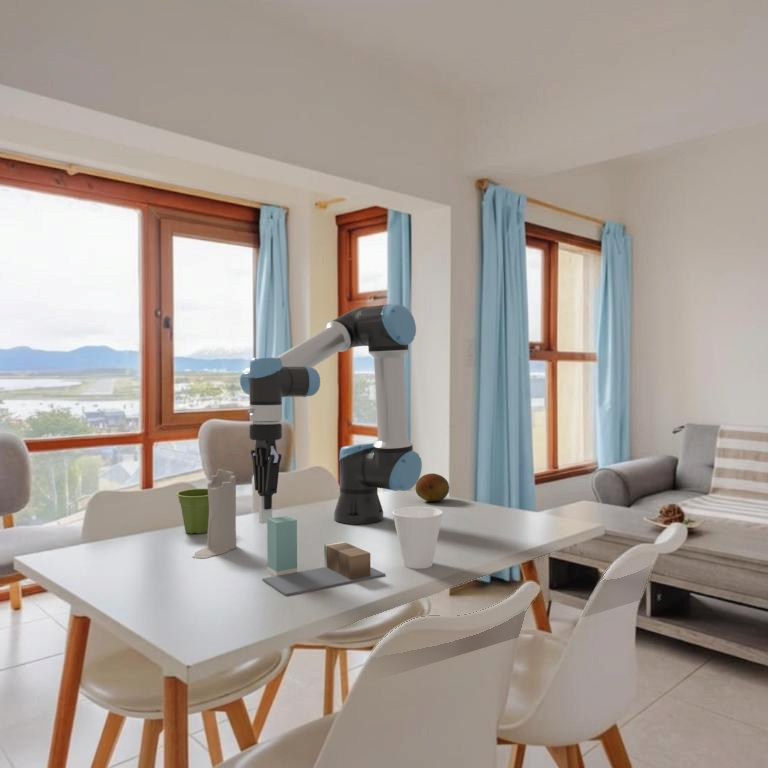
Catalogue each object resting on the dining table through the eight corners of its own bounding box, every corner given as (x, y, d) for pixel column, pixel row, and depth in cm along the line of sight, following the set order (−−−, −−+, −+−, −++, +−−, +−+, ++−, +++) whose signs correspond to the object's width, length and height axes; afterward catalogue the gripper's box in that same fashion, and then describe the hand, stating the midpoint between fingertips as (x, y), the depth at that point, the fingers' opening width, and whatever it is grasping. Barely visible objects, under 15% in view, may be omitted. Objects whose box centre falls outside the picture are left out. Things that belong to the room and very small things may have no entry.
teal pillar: (267, 571, 148) (267, 518, 148) (287, 567, 151) (287, 516, 151) (276, 577, 144) (276, 522, 144) (297, 573, 147) (296, 520, 147)
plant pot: (167, 534, 183) (167, 494, 183) (194, 525, 194) (194, 487, 194) (202, 538, 179) (202, 497, 179) (228, 528, 190) (227, 489, 190)
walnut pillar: (324, 544, 151) (350, 556, 141) (343, 541, 153) (370, 553, 143) (324, 566, 151) (350, 579, 141) (343, 562, 154) (370, 575, 144)
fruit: (413, 504, 224) (413, 475, 224) (418, 497, 237) (418, 469, 236) (448, 505, 222) (447, 476, 222) (450, 498, 235) (450, 470, 235)
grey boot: (185, 557, 160) (184, 475, 160) (218, 543, 173) (217, 467, 173) (210, 559, 158) (209, 477, 158) (241, 545, 171) (241, 469, 171)
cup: (428, 575, 145) (428, 519, 145) (382, 566, 151) (382, 513, 151) (451, 562, 155) (451, 509, 155) (408, 554, 161) (408, 504, 161)
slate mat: (262, 580, 142) (262, 578, 142) (357, 562, 155) (357, 560, 155) (285, 596, 132) (285, 594, 132) (385, 575, 145) (385, 573, 145)
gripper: (240, 421, 158) (240, 519, 158) (261, 425, 147) (261, 529, 147) (269, 420, 162) (269, 515, 162) (291, 423, 151) (291, 525, 151)
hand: (265, 522), depth 155 cm, fingers closed
